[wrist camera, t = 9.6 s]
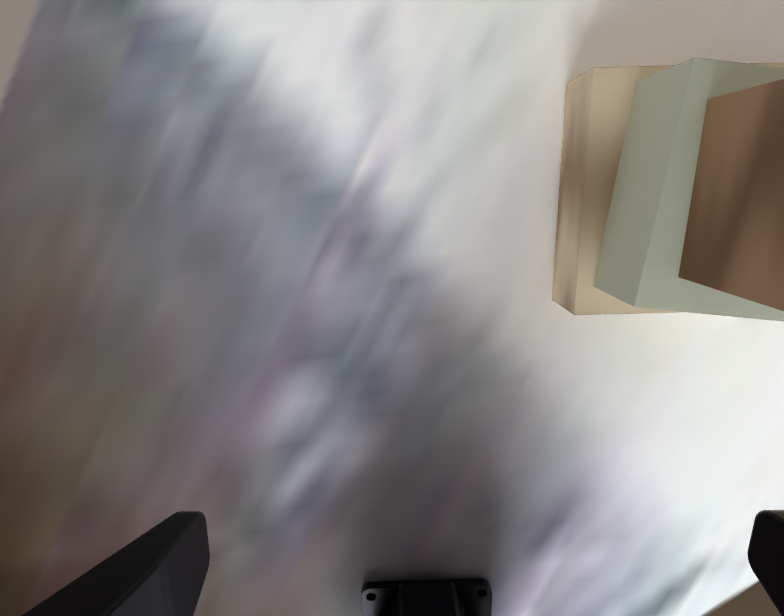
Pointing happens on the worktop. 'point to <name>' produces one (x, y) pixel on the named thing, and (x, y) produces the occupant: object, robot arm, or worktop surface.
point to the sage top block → (668, 190)
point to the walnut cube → (739, 197)
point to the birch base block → (592, 182)
